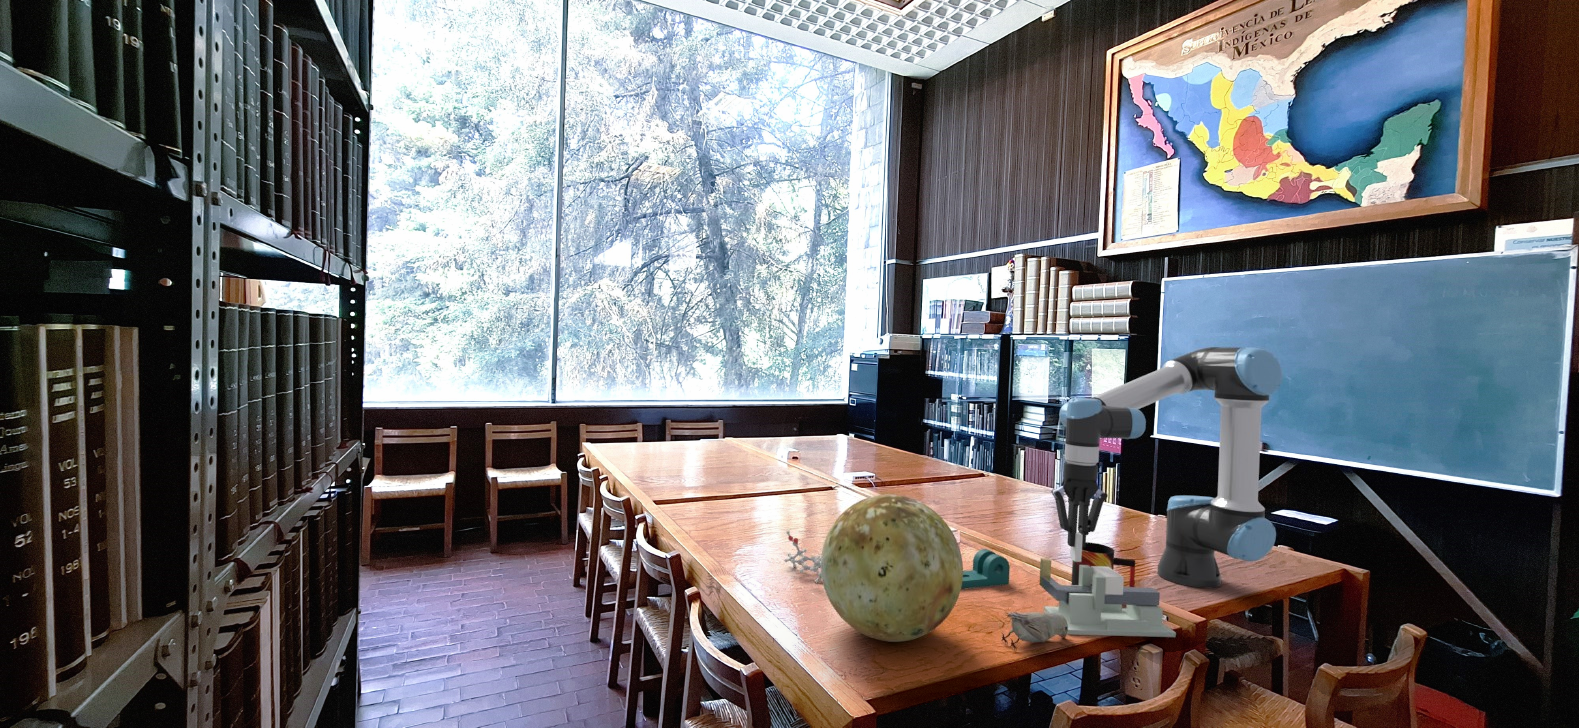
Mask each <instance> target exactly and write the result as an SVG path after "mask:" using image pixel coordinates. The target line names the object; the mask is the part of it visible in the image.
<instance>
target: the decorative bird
mask: <svg viewBox="0 0 1579 728" xmlns="http://www.w3.org/2000/svg"><path fill="white" fill-rule="evenodd" d="M1005 614H1006V617H1007V618H1010V619H1011V630H1010V631H1009V632H1008V634H1007V635H1004V633H1003V632H1001V635H1002V639H1001V642H1002V641H1004V644H1005V645H1006V644H1007V645H1009V643H1008V640H1007V638H1009V636H1010V635H1011V634H1014V635H1015V636H1016V637H1017V640H1015V641H1014V640H1013V638H1010V640H1011V642H1010V647H1013V648H1014V649H1013V650H1016V651H1018V650H1017V646H1016V645H1015V644H1017V643H1018V642H1019V641H1020V640H1021V641H1023V642H1028V643H1046V642H1047V641H1048V640H1050V639H1052V638H1054V637H1055V636H1056V635H1057V636H1059V637H1061V638H1062V639H1066V637H1067V635H1068V634H1067V632H1068V624H1067V621H1066V619H1065V618H1064V616H1062V615H1061V614H1059V613H1054V612H1053V613H1046V612H1035V611H1034V612H1033V611H1032V612H1025V613H1023V612H1017V611H1014V612H1005Z"/></svg>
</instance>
